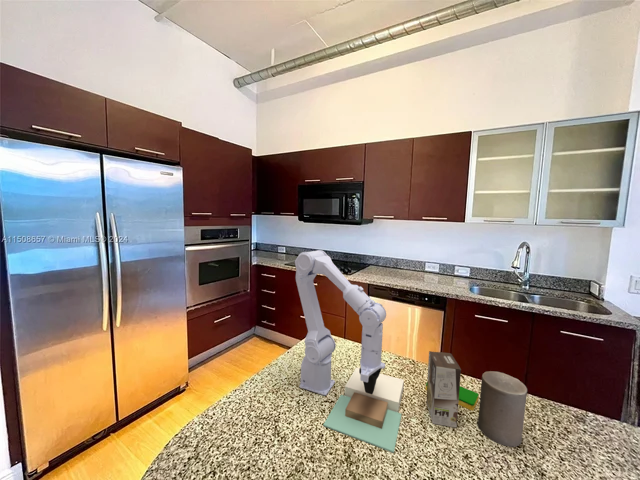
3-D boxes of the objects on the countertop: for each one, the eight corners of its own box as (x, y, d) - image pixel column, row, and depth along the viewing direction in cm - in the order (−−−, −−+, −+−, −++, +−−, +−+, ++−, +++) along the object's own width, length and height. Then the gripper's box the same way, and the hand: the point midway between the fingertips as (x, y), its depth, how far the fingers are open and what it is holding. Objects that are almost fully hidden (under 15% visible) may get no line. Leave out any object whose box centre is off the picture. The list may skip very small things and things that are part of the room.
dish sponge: (432, 381, 91) (432, 374, 90) (478, 400, 81) (479, 393, 81) (424, 391, 85) (425, 383, 85) (473, 412, 76) (473, 404, 76)
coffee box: (458, 428, 70) (462, 369, 68) (432, 424, 71) (435, 366, 70) (448, 405, 78) (451, 352, 77) (425, 401, 80) (428, 350, 79)
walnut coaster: (345, 416, 72) (345, 409, 72) (353, 398, 79) (354, 392, 79) (381, 428, 68) (382, 421, 68) (387, 409, 75) (387, 402, 75)
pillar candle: (469, 423, 71) (473, 370, 70) (492, 413, 75) (497, 363, 74) (507, 453, 63) (513, 393, 61) (531, 439, 67) (537, 383, 65)
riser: (344, 395, 81) (344, 386, 81) (355, 375, 92) (356, 367, 92) (398, 412, 75) (398, 402, 74) (403, 388, 86) (403, 379, 85)
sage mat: (323, 426, 69) (323, 424, 69) (341, 395, 81) (341, 394, 81) (393, 452, 62) (393, 451, 61) (401, 415, 74) (401, 413, 74)
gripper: (380, 362, 67) (377, 412, 68) (390, 339, 80) (387, 382, 81) (353, 355, 70) (351, 404, 71) (367, 334, 83) (365, 376, 84)
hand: (369, 392), depth 76 cm, fingers closed
